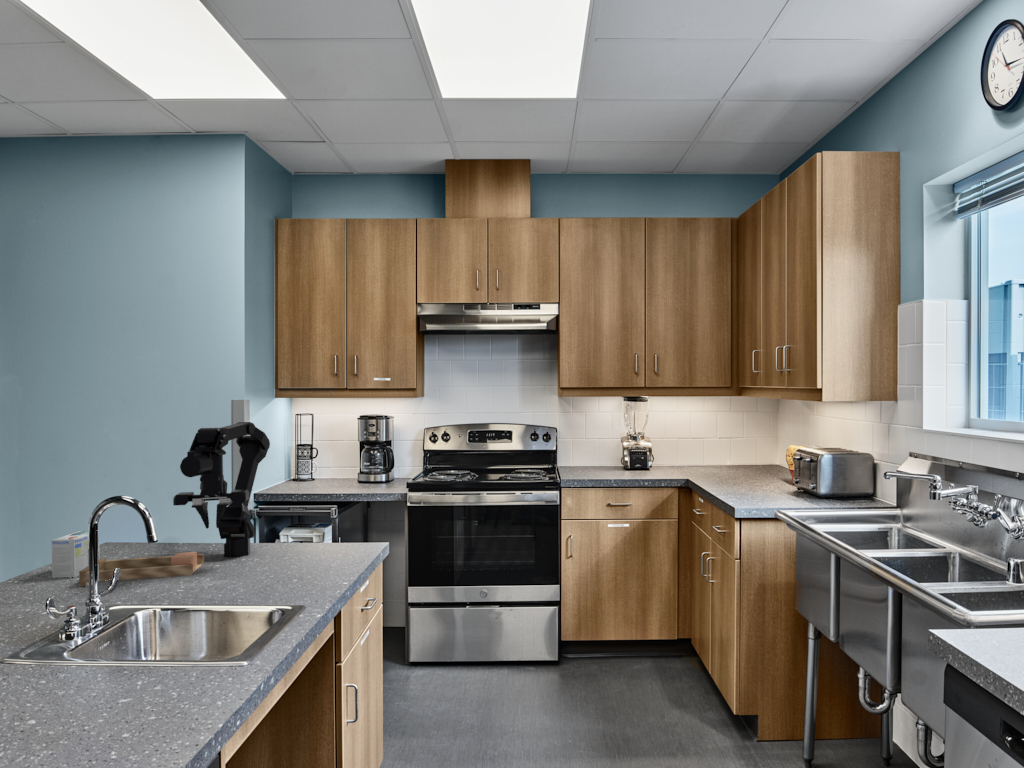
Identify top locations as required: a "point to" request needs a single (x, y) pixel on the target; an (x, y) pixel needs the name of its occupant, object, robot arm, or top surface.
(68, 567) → the light bulb box
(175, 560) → the terracotta block
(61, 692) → the top surface
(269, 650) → the top surface
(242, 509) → the robot arm
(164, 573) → the frame
